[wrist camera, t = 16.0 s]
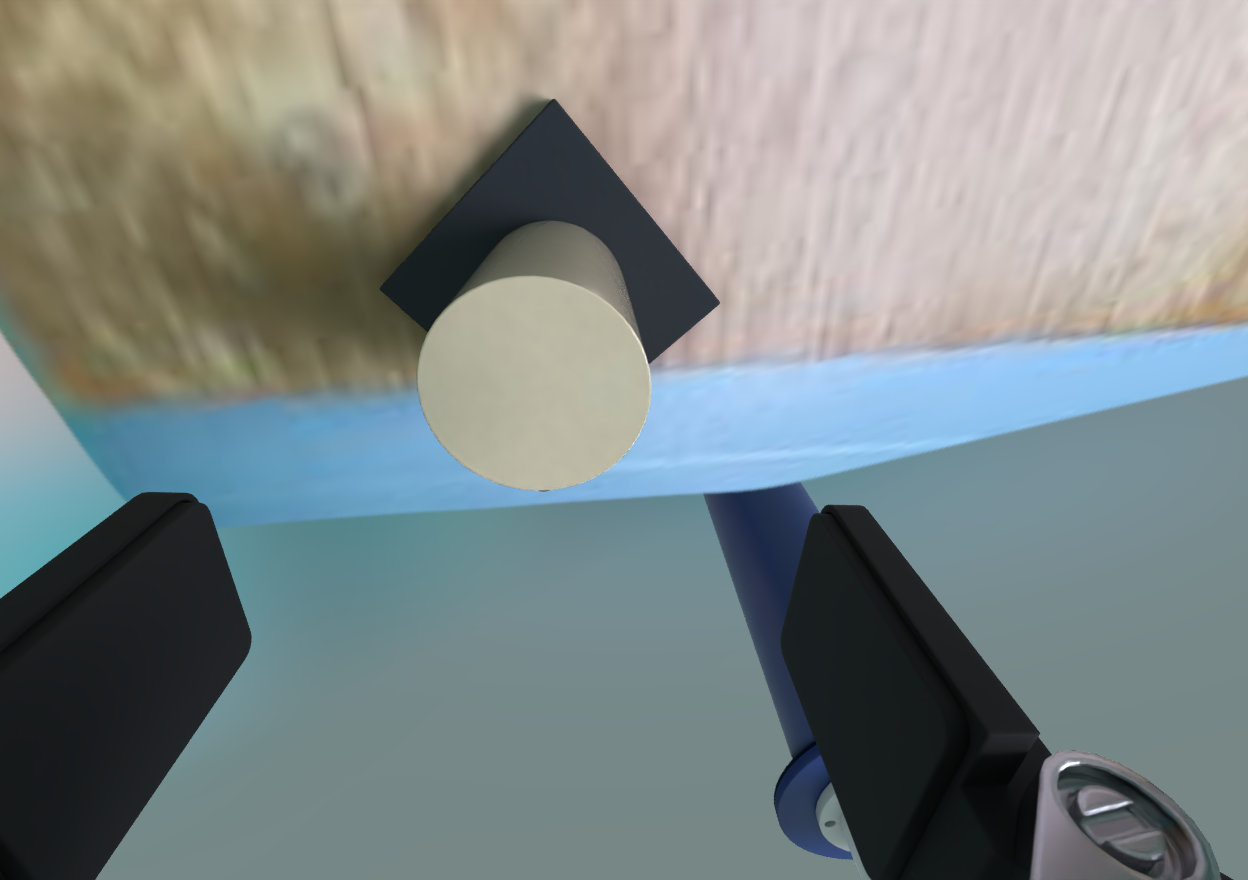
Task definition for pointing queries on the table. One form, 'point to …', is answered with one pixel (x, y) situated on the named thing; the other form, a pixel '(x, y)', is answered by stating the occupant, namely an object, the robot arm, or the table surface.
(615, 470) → the table surface
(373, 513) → the table surface
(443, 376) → the cream cylinder canister
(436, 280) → the rubber mat
